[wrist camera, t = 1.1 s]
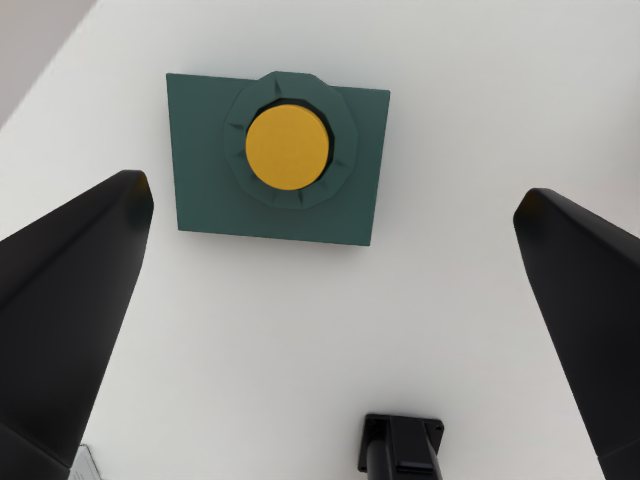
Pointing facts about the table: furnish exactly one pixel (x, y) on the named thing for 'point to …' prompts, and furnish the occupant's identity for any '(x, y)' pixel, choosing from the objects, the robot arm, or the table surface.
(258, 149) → the cylinder
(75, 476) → the small box
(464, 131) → the table surface
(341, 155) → the teal square base
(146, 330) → the table surface
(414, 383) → the table surface
